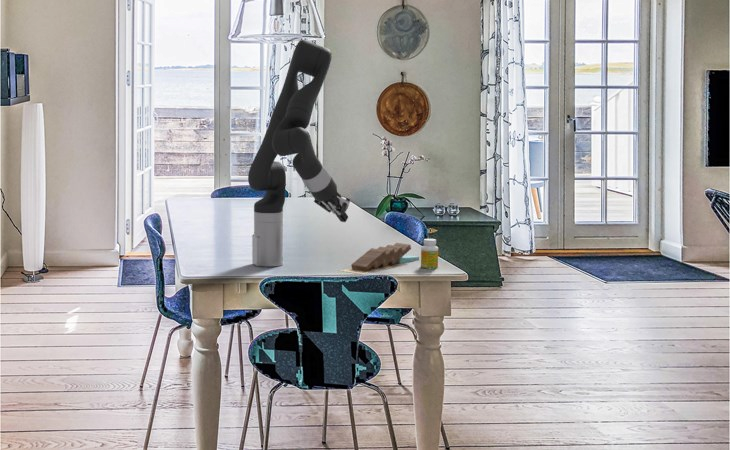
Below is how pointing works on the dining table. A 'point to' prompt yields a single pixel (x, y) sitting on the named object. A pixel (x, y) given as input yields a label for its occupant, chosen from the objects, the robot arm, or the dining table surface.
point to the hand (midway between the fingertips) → (344, 219)
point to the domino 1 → (368, 259)
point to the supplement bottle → (429, 254)
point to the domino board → (371, 269)
